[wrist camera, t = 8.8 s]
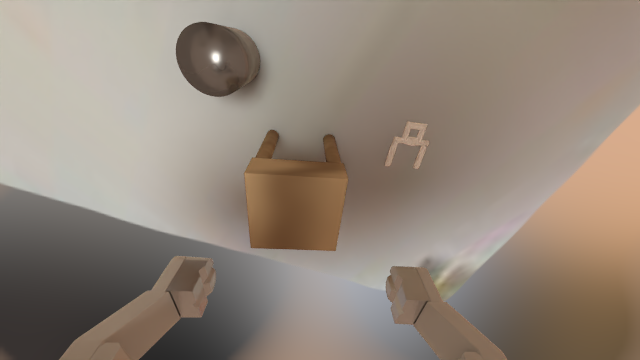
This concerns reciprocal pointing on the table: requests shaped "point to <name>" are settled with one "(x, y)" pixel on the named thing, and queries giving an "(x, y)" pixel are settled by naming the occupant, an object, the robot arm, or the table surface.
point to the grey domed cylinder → (216, 58)
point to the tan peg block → (295, 199)
